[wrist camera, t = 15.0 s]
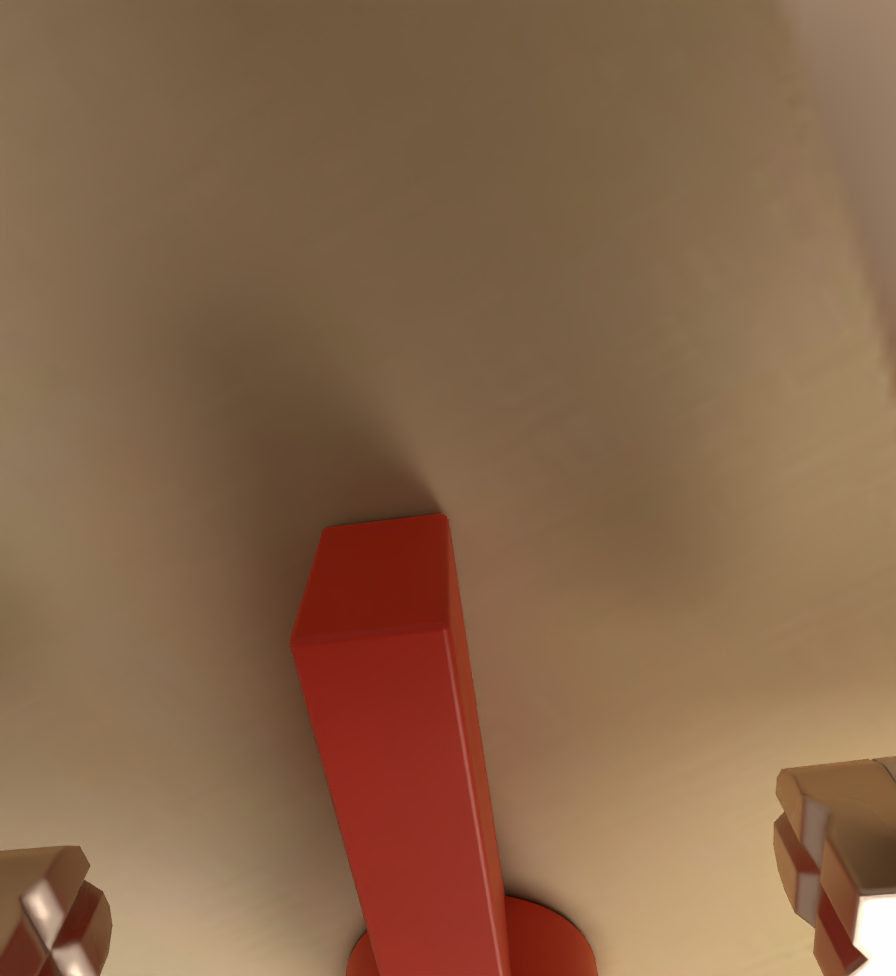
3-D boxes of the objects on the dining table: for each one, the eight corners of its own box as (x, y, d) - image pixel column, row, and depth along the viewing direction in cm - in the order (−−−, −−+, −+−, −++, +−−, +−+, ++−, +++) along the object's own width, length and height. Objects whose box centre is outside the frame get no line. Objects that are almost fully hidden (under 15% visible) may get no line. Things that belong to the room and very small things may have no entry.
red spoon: (212, 537, 9) (143, 657, 7) (559, 495, 9) (596, 605, 7) (370, 1058, 14) (358, 1223, 12) (601, 1038, 14) (630, 1203, 12)
